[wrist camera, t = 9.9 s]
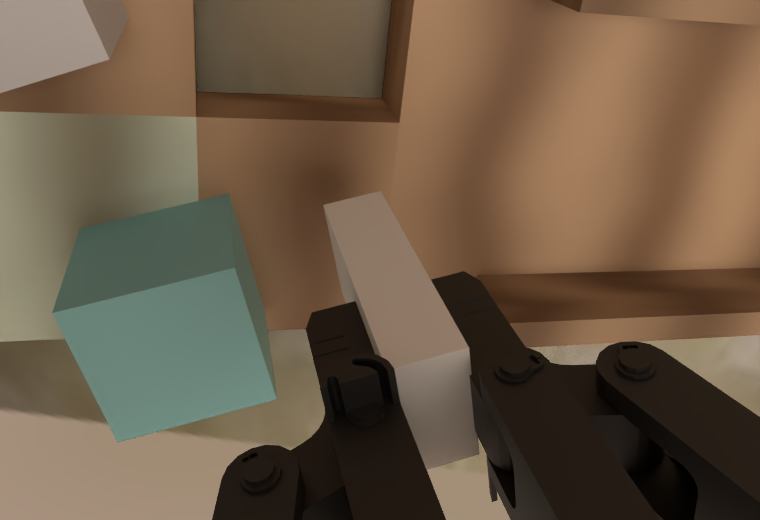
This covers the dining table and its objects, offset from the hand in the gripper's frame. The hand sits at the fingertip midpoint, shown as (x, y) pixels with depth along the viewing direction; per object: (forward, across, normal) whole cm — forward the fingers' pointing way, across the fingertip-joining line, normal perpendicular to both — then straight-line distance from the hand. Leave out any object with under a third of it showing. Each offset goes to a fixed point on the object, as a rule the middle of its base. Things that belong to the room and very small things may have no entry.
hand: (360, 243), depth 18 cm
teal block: (+4, -5, -2) cm, 7 cm away
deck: (+7, +4, 0) cm, 8 cm away
